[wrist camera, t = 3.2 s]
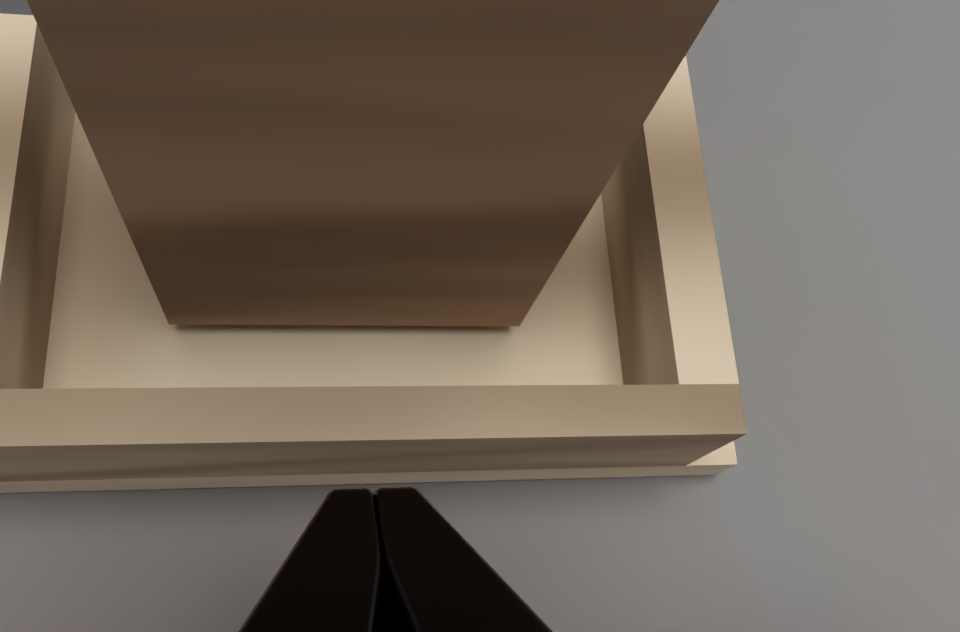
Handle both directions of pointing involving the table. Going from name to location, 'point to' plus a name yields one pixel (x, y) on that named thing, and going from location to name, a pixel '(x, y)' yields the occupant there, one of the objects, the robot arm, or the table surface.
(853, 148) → the table surface
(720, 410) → the beige flat tray
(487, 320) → the walnut block
